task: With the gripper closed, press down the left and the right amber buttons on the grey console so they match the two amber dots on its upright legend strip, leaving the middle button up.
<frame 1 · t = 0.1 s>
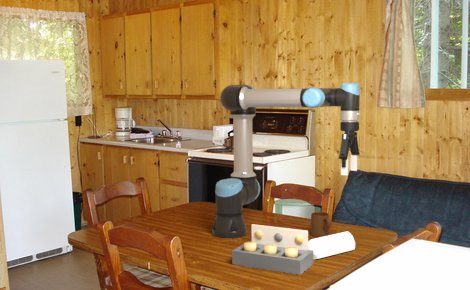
hand: (349, 172, 221), 28 cm above the table, fingers open, 13 cm apart
console: (272, 264, 193), on the table
crystal: (329, 254, 205), on the table
button middle: (270, 251, 190), point 5 cm above the table, slide at 0.0 cm
button right: (291, 254, 187), point 5 cm above the table, slide at 0.0 cm
button left: (250, 248, 194), point 5 cm above the table, slide at 0.0 cm
mug: (322, 237, 229), on the table
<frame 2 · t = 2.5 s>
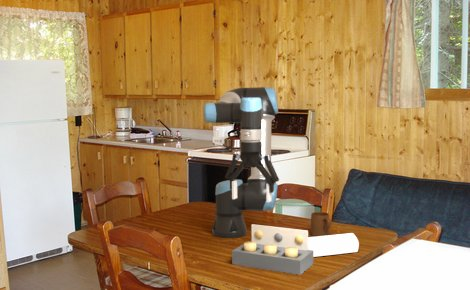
hand: (251, 200, 193), 23 cm above the table, fingers open, 13 cm apart
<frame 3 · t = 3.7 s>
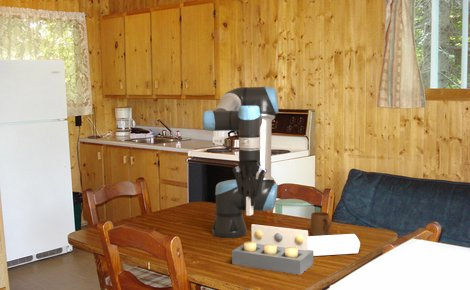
hand: (249, 214, 193), 18 cm above the table, fingers closed
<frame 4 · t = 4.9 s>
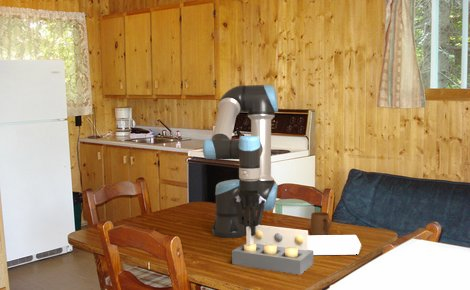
hand: (250, 244, 194), 7 cm above the table, fingers closed
button left: (250, 250, 194), point 5 cm above the table, slide at 0.5 cm, touching gripper
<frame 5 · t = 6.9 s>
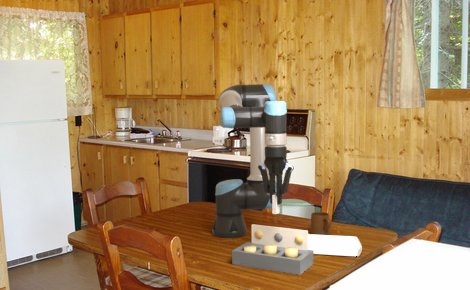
hand: (276, 213, 187), 19 cm above the table, fingers closed
button left: (250, 252, 194), point 4 cm above the table, slide at 1.4 cm
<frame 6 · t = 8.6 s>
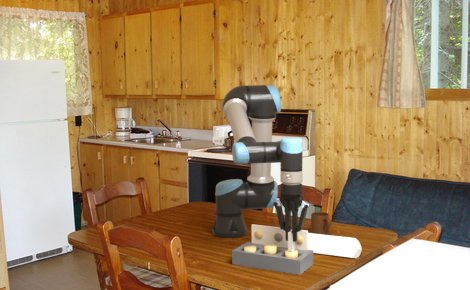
hand: (291, 250, 186), 7 cm above the table, fingers closed
button right: (291, 256, 187), point 4 cm above the table, slide at 0.7 cm, touching gripper
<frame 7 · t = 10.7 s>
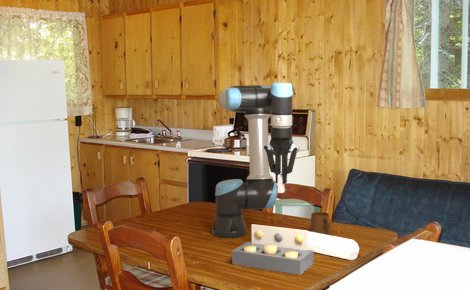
hand: (281, 192, 193), 26 cm above the table, fingers closed
button right: (291, 258, 187), point 4 cm above the table, slide at 1.4 cm
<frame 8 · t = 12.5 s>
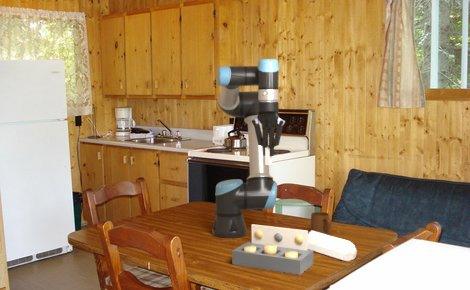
hand: (268, 164, 201), 34 cm above the table, fingers closed
at the end: button left slide at 1.4 cm; button right slide at 1.4 cm; button middle slide at 0.0 cm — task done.
